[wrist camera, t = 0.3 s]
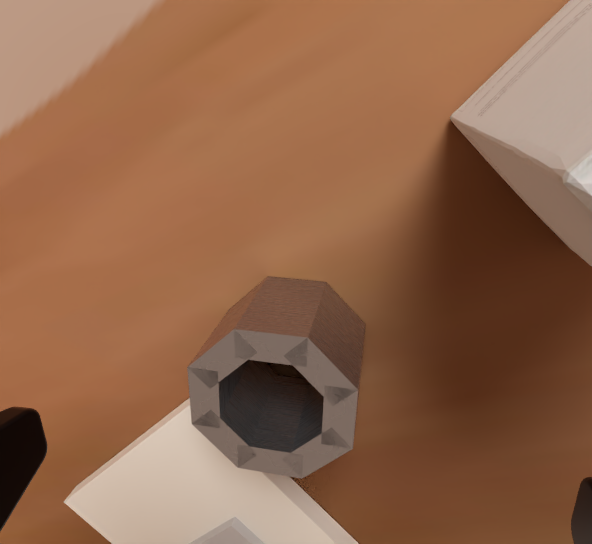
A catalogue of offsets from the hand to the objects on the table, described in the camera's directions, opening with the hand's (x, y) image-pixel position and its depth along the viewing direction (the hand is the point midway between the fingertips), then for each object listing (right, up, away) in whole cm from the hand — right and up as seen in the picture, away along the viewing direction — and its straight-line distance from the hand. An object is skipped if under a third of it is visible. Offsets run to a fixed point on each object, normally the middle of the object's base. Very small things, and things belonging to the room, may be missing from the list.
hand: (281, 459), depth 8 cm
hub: (0, 0, +14) cm, 14 cm away
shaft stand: (-3, -13, +20) cm, 24 cm away
